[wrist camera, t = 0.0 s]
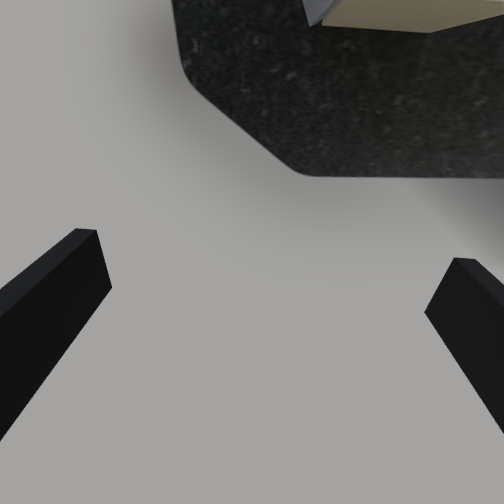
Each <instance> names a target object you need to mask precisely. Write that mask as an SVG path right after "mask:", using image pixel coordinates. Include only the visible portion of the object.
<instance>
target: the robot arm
mask: <svg viewBox="0 0 504 504" xmlns="http://www.w3.org/2000/svg"><path fill="white" fill-rule="evenodd" d="M111 288H112V285H111V282H110V278H109V274H108V271H107V267H106V263H105V259H104V256H103V252H102V248H101V245H100V241H99V238H98V234H97V230H91V229H79V228H78V229H77V228H76V229H74V230H73V231H72V232H71V233H69V234H68V235H67V236H66V237H64V238H63V239H62V240H61V241H59V242H58V243H57V244H56V245H55V246H53V247H52V248H51V249H49V250H48V251H47V252H46V253H45V254H43V255H42V256H41V257H40V258H38V259H37V260H36V261H35V262H34V263H32V264H31V265H30V266H28V267H27V268H26V269H25V270H23V271H22V272H21V273H20V274H18V275H17V276H16V277H15V278H13V279H12V280H11V281H10V282H8V283H7V284H6V285H5V286H4V287H2V288H1V289H0V441H1V440H2V438H3V437H4V435H5V434H6V433H7V431H8V430H9V428H10V427H11V425H12V424H13V423H14V422H15V420H16V419H17V418H18V416H19V415H20V413H21V412H22V411H23V409H24V408H25V407H26V405H27V404H28V402H29V401H30V399H31V398H32V397H33V396H34V394H35V393H36V391H37V390H38V389H39V387H40V386H41V385H42V383H43V382H44V380H45V379H46V378H47V376H48V375H49V374H50V372H51V371H52V369H53V368H54V367H55V365H56V364H57V363H58V361H59V360H60V359H61V357H62V356H63V354H64V353H65V352H66V350H67V349H68V348H69V346H70V345H71V343H72V342H73V341H74V339H75V338H76V337H77V335H78V334H79V332H80V331H81V330H82V328H83V327H84V325H85V324H86V323H87V321H88V320H89V319H90V317H91V316H92V315H93V313H94V312H95V310H96V309H97V308H98V306H99V305H100V303H101V302H102V301H103V299H104V298H105V297H106V295H107V294H108V293H109V291H110V290H111ZM424 313H425V314H426V316H427V317H428V319H429V320H430V322H431V323H432V325H433V326H434V328H435V329H436V331H437V332H438V334H439V335H440V337H441V338H442V340H443V342H444V343H445V345H446V346H447V348H448V349H449V351H450V352H451V354H452V355H453V357H454V358H455V360H456V361H457V363H458V364H459V366H460V368H461V369H462V371H463V372H464V374H465V375H466V377H467V378H468V380H469V381H470V383H471V384H472V386H473V387H474V389H475V390H476V392H477V394H478V395H479V397H480V398H481V399H482V401H483V403H484V404H485V405H486V407H487V409H488V410H489V412H490V413H491V415H492V416H493V418H494V419H495V421H496V423H497V424H498V425H499V427H500V429H501V430H502V432H503V433H504V285H503V284H502V283H501V282H500V281H499V280H498V279H496V277H495V276H493V275H492V274H491V273H490V272H489V271H488V270H487V269H486V268H485V267H483V266H482V265H481V264H480V263H479V262H478V261H477V260H476V259H468V258H454V259H453V260H452V262H451V264H450V266H449V268H448V270H447V271H446V273H445V275H444V277H443V279H442V281H441V282H440V284H439V286H438V288H437V290H436V292H435V293H434V295H433V297H432V299H431V301H430V303H429V304H428V306H427V308H426V310H425V312H424Z"/></svg>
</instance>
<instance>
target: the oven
mask: <svg viewBox="0 0 504 504" xmlns="http://www.w3.org/2000/svg"><path fill="white" fill-rule="evenodd" d="M503 14H504V0H340V1H339V2H338V3H337V4H336V5H335V6H334V7H333V8H332V9H331V10H330V11H329V12H328V13H327V14H326V15H325V16H324V17H323V19H322V25H323V26H337V27H351V28H365V29H380V30H394V31H408V32H422V33H431V32H435V31H439V30H443V29H447V28H451V27H455V26H459V25H463V24H467V23H471V22H475V21H479V20H483V19H487V18H491V17H495V16H499V15H503Z"/></svg>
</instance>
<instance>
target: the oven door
mask: <svg viewBox="0 0 504 504" xmlns="http://www.w3.org/2000/svg"><path fill="white" fill-rule="evenodd" d="M302 1H303V5H304V8H305V12H306V16H307V19H308V23H309V26H310V27H311V26H313V25H315V24H316V23H318V22H319V21H320V20H321V19H322V18H323V17H324V16H325V15H326V14H327V13H328V12H329V11H330V10H331V9H332V8H333V7H334V6H335V5H336V4H337V3H338V2H339V1H340V0H302Z"/></svg>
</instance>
